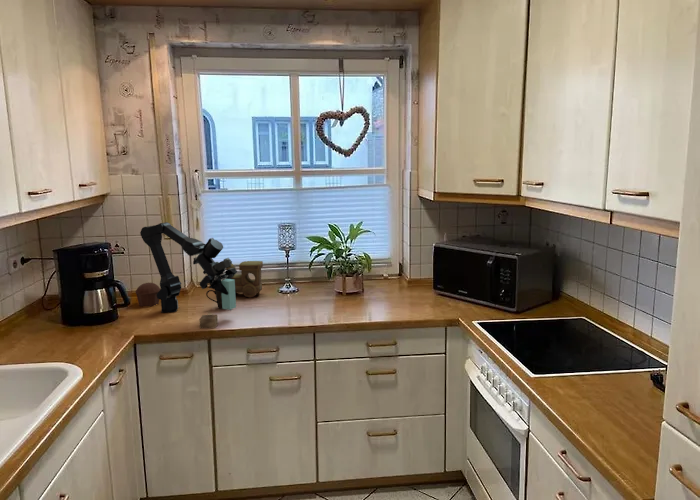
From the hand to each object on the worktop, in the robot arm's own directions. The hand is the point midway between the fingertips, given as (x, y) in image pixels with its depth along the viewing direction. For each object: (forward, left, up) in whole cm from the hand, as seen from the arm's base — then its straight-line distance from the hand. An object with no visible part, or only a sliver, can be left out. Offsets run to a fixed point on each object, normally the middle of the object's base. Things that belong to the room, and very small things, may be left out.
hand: (231, 293), depth 222 cm
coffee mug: (-5, +20, -12) cm, 24 cm away
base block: (-9, -7, -12) cm, 16 cm away
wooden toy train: (+4, +40, -12) cm, 42 cm away
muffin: (-39, +34, -12) cm, 53 cm away
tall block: (-1, +1, -7) cm, 7 cm away
